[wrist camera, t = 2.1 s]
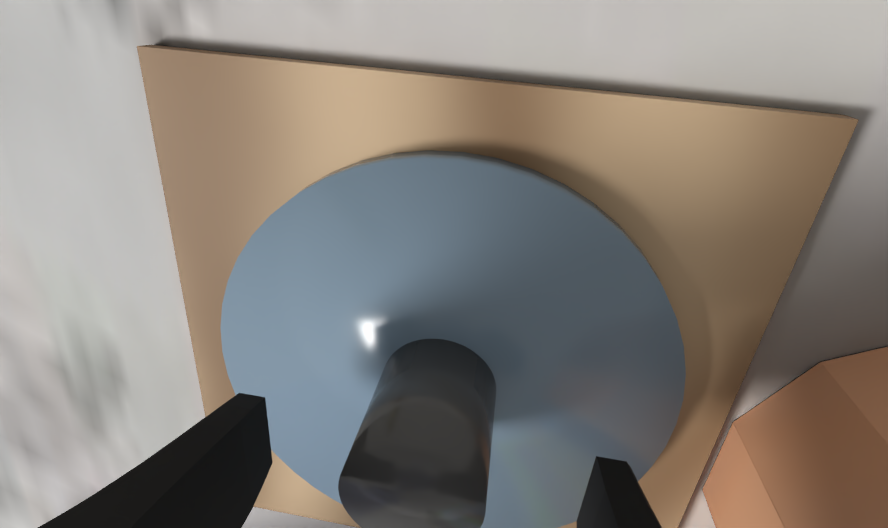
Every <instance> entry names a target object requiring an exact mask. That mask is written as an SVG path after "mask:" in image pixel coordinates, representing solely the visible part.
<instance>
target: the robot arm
mask: <svg viewBox="0 0 888 528" xmlns="http://www.w3.org/2000/svg"><path fill="white" fill-rule="evenodd" d="M272 463H273V462H272V453H271V444H270V435H269V427H268V418H267V409H266V400H265V397H261V396H255V395H249V394H244V393H238V394H237V395H235V396H234V397H233V398H231V399H230V400H228V401H227V402H226V403H224V404H223V405H221V406H220V407H219V408H217V409H216V410H215V411H213V412H212V413H211V414H209V415H208V416H206V417H205V418H204V419H202V420H201V421H200V422H198V423H197V424H196V425H194V426H193V427H191V428H190V429H189V430H187V431H186V432H185V433H183V434H182V435H181V436H179V437H178V438H176V439H175V440H174V441H172V442H171V443H169V444H168V445H166V446H165V447H164V448H162V449H161V450H159V451H158V452H157V453H155V454H154V455H152V456H151V457H150V458H148V459H147V460H145V461H144V462H142V463H141V464H140V465H138V466H137V467H135V468H134V469H132V470H131V471H129V472H127V473H126V474H124V475H123V476H121V477H120V478H118V479H117V480H115V481H114V482H112V483H111V484H109V485H108V486H106V487H105V488H103V489H102V490H100V491H99V492H97V493H96V494H94V495H92V496H91V497H89V498H88V499H86V500H84V501H83V502H81V503H79V504H78V505H76V506H74V507H73V508H71V509H69V510H68V511H66V512H64V513H63V514H61V515H59V516H57V517H56V518H54V519H52V520H50V521H49V522H47V523H45V524H43V525H42V526H40V527H38V528H241V527H242V525H243V524H244V522H245V520H246V519H247V517H248V515H249V513H250V512H251V510H252V508H253V506H254V504H255V502H256V499H257V497H258V495H259V493H260V491H261V489H262V486H263V484H264V482H265V479H266V477H267V475H268V472H269V470H270V468H271V465H272ZM577 528H662V527H661V525H660V523H659V521H658V519H657V517H656V516H655V514H654V512H653V510H652V508H651V506H650V504H649V502H648V500H647V498H646V497H645V495H644V493H643V491H642V489H641V487H640V485H639V483H638V481H637V479H636V477H635V475H634V473H633V471H632V469H631V467H630V465H629V464H628V463H627V461H621V460H615V459H610V458H604V457H599V456H596V458H595V462H594V465H593V468H592V472H591V475H590V478H589V482H588V485H587V488H586V491H585V495H584V498H583V501H582V505H581V508H580V511H579V515H578V518H577Z"/></svg>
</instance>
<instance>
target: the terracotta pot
mask: <svg viewBox="0 0 888 528" xmlns="http://www.w3.org/2000/svg"><path fill="white" fill-rule="evenodd" d="M702 490H703V492H704V495H705V498H706V501H707V504H708V507H709V509H710V512H711V515H712V518H713V521H714V524H715V526H716V528H888V347H884V348H880V349H875V350H871V351H867V352H862V353H858V354H854V355H849V356H845V357H841V358H836V359H832V360H828V361H823V362H820V363H819V364H817V365H816V366H814V367H813V368H811V369H810V370H808V371H807V372H805V373H804V374H803V375H801V376H800V377H798V378H797V379H795V380H794V381H792V382H791V383H789V384H788V385H786V386H785V387H784V388H782V389H781V390H779V391H778V392H776V393H775V394H773V395H772V396H770V397H769V398H767V399H766V400H765V401H763V402H762V403H760V404H759V405H757V406H756V407H754V408H753V409H751V410H750V411H749V412H747V413H746V414H744V415H743V416H741V417H740V418H738V419H737V420H735V421H734V422H733V423H732V425H731V428H730V430H729V432H728V434H727V436H726V439H725V441H724V443H723V445H722V447H721V450H720V452H719V454H718V456H717V458H716V461H715V463H714V465H713V467H712V469H711V472H710V474H709V476H708V478H707V480H706V483H705V485H704V487H703V489H702Z"/></svg>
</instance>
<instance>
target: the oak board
mask: <svg viewBox="0 0 888 528" xmlns="http://www.w3.org/2000/svg"><path fill="white" fill-rule="evenodd" d="M137 50H138V55H139V61H140V66H141V71H142V77H143V82H144V87H145V93H146V98H147V104H148V109H149V114H150V120H151V125H152V131H153V136H154V141H155V147H156V152H157V158H158V163H159V168H160V174H161V179H162V185H163V190H164V195H165V201H166V206H167V212H168V217H169V222H170V228H171V233H172V238H173V244H174V249H175V255H176V260H177V265H178V271H179V276H180V282H181V287H182V292H183V298H184V303H185V309H186V314H187V319H188V325H189V330H190V336H191V341H192V346H193V352H194V357H195V362H196V368H197V373H198V379H199V384H200V389H201V395H202V400H203V406H204V411H205V416H208V415H209V414H211V413H212V412H213V411H215V410H216V409H217V408H219V407H220V406H221V405H223V404H224V403H226V402H227V401H228V400H230V399H231V398H233V397H234V396H235V392H234V390H233V387H232V384H231V382H230V379H229V377H228V374H227V369H226V365H225V361H224V356H223V352H222V340H221V314H222V303H223V299H224V295H225V291H226V286H227V282H228V279H229V277H230V274H231V272H232V270H233V267H234V265H235V263H236V260H237V258H238V256H239V255H240V253H241V252H242V250H243V248H244V247H245V245H246V244H247V242H248V241H249V239H250V238H251V236H252V235H253V234H254V233H255V231H256V230H257V229H258V228H259V227H260V226H261V225H262V224H263V223H264V222H265V220H266V219H267V218H268V217H269V216H270V215H271V214H272V213H274V212H275V211H276V210H277V209H279V208H280V207H281V206H282V205H284V204H285V203H286V202H288V201H289V200H290V199H291V198H293V197H294V196H295V195H296V194H298V193H299V192H300V191H301V190H303V189H304V188H305V187H307V186H308V185H310V184H312V183H313V182H315V181H317V180H319V179H320V178H322V177H324V176H326V175H328V174H329V173H331V172H333V171H335V170H338V169H341V168H343V167H346V166H348V165H351V164H354V163H356V162H359V161H361V160H365V159H370V158H374V157H379V156H383V155H387V154H392V153H400V152H412V151H423V150H437V151H458V152H467V153H473V154H478V155H484V156H490V157H495V158H500V159H503V160H506V161H509V162H512V163H515V164H518V165H522V166H525V167H528V168H531V169H534V170H536V171H538V172H540V173H542V174H544V175H546V176H549V177H551V178H553V179H555V180H557V181H559V182H561V183H564V184H565V185H567V186H568V187H570V188H572V189H573V190H575V191H576V192H578V193H579V194H581V195H582V196H584V197H586V198H587V199H589V200H590V201H592V202H593V203H595V204H596V205H597V206H598V207H599V208H600V209H602V210H603V211H604V212H605V213H606V214H607V215H609V216H610V217H611V218H612V219H613V220H614V221H616V222H617V223H618V224H619V225H620V226H621V227H622V228H623V229H624V231H625V232H626V233H627V234H628V235H629V236H630V237H631V239H632V240H633V241H634V242H635V243H636V244H637V245H638V247H639V248H640V249H641V250H642V252H643V254H644V255H645V257H646V258H647V260H648V261H649V263H650V265H651V266H652V268H653V269H654V271H655V272H656V274H657V276H658V278H659V280H660V282H661V284H662V286H663V288H664V290H665V293H666V295H667V297H668V299H669V302H670V304H671V306H672V309H673V311H674V313H675V316H676V318H677V321H678V325H679V329H680V333H681V337H682V341H683V345H684V355H685V368H686V378H685V388H684V397H683V403H682V406H681V410H680V413H679V417H678V420H677V424H676V426H675V428H674V430H673V432H672V434H671V437H670V439H669V441H668V443H667V445H666V447H665V448H664V450H663V451H662V453H661V454H660V456H659V457H658V458H657V460H656V461H655V463H654V464H653V466H652V467H651V468H650V469H649V470H648V471H647V472H646V473H645V474H644V476H643V477H642V478H641V479H640V480H639V481H638V483H639V485H640V487H641V489H642V491H643V493H644V495H645V497H646V498H647V500H648V502H649V504H650V506H651V508H652V510H653V512H654V514H655V516H656V517H657V519H658V521H659V523H660V525H661V527H662V528H678V526H679V523H680V521H681V519H682V517H683V514H684V512H685V510H686V508H687V505H688V503H689V501H690V499H691V496H692V494H693V492H694V490H695V487H696V485H697V483H698V481H699V478H700V476H701V474H702V472H703V469H704V467H705V465H706V463H707V460H708V458H709V456H710V454H711V451H712V449H713V447H714V445H715V442H716V440H717V438H718V436H719V433H720V431H721V429H722V427H723V424H724V422H725V420H726V418H727V415H728V413H729V411H730V409H731V406H732V404H733V402H734V400H735V397H736V395H737V393H738V391H739V388H740V386H741V384H742V382H743V379H744V377H745V375H746V373H747V370H748V368H749V366H750V364H751V361H752V359H753V357H754V355H755V352H756V350H757V348H758V345H759V343H760V341H761V339H762V336H763V334H764V332H765V330H766V327H767V325H768V323H769V321H770V318H771V316H772V314H773V312H774V309H775V307H776V305H777V303H778V300H779V298H780V296H781V294H782V291H783V289H784V287H785V285H786V282H787V280H788V278H789V276H790V273H791V271H792V269H793V267H794V264H795V262H796V260H797V258H798V255H799V253H800V251H801V249H802V246H803V244H804V242H805V240H806V237H807V235H808V233H809V231H810V228H811V226H812V224H813V222H814V219H815V217H816V215H817V213H818V210H819V208H820V206H821V204H822V201H823V199H824V197H825V195H826V192H827V190H828V188H829V186H830V183H831V181H832V179H833V177H834V174H835V172H836V170H837V168H838V165H839V163H840V161H841V159H842V156H843V154H844V152H845V150H846V147H847V145H848V143H849V141H850V138H851V136H852V134H853V132H854V129H855V127H856V125H857V123H858V119H855V118H852V117H849V116H846V115H839V114H829V113H819V112H809V111H799V110H789V109H779V108H770V107H760V106H750V105H740V104H730V103H720V102H710V101H701V100H691V99H681V98H671V97H661V96H651V95H641V94H632V93H622V92H612V91H602V90H592V89H582V88H572V87H562V86H553V85H543V84H533V83H523V82H513V81H503V80H493V79H484V78H474V77H464V76H454V75H444V74H434V73H424V72H415V71H405V70H395V69H385V68H375V67H365V66H355V65H346V64H336V63H326V62H316V61H306V60H296V59H286V58H277V57H267V56H257V55H247V54H237V53H227V52H217V51H207V50H198V49H188V48H178V47H168V46H158V45H145V46H137ZM271 453H272V462H273V463H272V465H271V468H270V470H269V472H268V475H267V477H266V479H265V482H264V484H263V486H262V489H261V491H260V493H259V495H258V497H257V499H256V502H255V504H254V506H253V507H258V508H263V509H268V510H273V511H278V512H283V513H288V514H293V515H298V516H303V517H308V518H313V519H318V520H323V521H328V522H333V523H338V524H343V525H348V526H353V527H358V528H361V527H360V526H359V525H358V524H357V523H356V522H355V521H354V520H353V519H352V518H351V517H350V516H349V514H348V513H347V511H346V510H345V508H344V507H343V505H342V504H341V503H339V502H337V501H335V500H333V499H332V498H330V497H328V496H327V495H325V494H324V493H322V492H321V491H319V490H318V489H316V488H314V487H313V486H312V485H310V484H309V483H308V482H306V481H305V480H304V479H303V478H301V477H300V476H299V475H297V474H296V473H295V472H294V471H293V470H292V469H290V468H289V467H288V466H287V465H286V464H285V463H284V462H283V461H282V460H281V459H280V458H279V457H278V456H277V455H276V454H275V453H274V452H273V451H272V450H271ZM558 528H577V521H575V522H573V523H570V524H567V525H564V526H561V527H558Z"/></svg>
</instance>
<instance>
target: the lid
mask: <svg viewBox="0 0 888 528" xmlns="http://www.w3.org/2000/svg"><path fill="white" fill-rule="evenodd" d="M221 340H222V352H223V356H224V361H225V365H226V369H227V374H228V377H229V379H230V382H231V384H232V387H233V390H234V392H235V395H237V394H238V393H244V394H249V395H255V396H261V397H265V400H266V409H267V418H268V427H269V435H270V444H271V450H272V451H273V452H274V453H275V454H276V455H277V456H278V457H279V458H280V459H281V460H282V461H283V462H284V463H285V464H286V465H287V466H288V467H289V468H290V469H292V470H293V471H294V472H295V473H296V474H297V475H299V476H300V477H301V478H303V479H304V480H305V481H306V482H308V483H309V484H310V485H312V486H313V487H314V488H316V489H318V490H319V491H321V492H322V493H324V494H325V495H327V496H328V497H330V498H332V499H333V500H335V501H337V502H339V503H341V504H342V505H343V507H344V508H345V510H346V511H347V513H348V514H349V516H350V517H351V518H352V519H353V520H354V521H355V522H356V523H357V524H358V525H359V526H360V527H361V528H558V527H561V526H564V525H567V524H570V523H573V522H575V521H577V518H578V515H579V511H580V508H581V505H582V501H583V498H584V495H585V491H586V488H587V485H588V482H589V478H590V475H591V472H592V468H593V465H594V462H595V458H596V456H599V457H604V458H610V459H615V460H621V461H627V463H628V464H629V465H630V467H631V469H632V471H633V473H634V475H635V477H636V479H637V481H639V480H640V479H641V478H642V477H643V476H644V474H645V473H646V472H647V471H648V470H649V469H650V468H651V467H652V466H653V464H654V463H655V461H656V460H657V458H658V457H659V456H660V454H661V453H662V451H663V450H664V448H665V447H666V445H667V443H668V441H669V439H670V437H671V434H672V432H673V430H674V428H675V426H676V424H677V420H678V417H679V413H680V410H681V406H682V403H683V397H684V388H685V378H686V368H685V355H684V345H683V341H682V337H681V333H680V329H679V325H678V321H677V318H676V316H675V313H674V311H673V309H672V306H671V304H670V302H669V299H668V297H667V295H666V293H665V290H664V288H663V286H662V284H661V282H660V280H659V278H658V276H657V274H656V272H655V271H654V269H653V268H652V266H651V265H650V263H649V261H648V260H647V258H646V257H645V255H644V254H643V252H642V250H641V249H640V248H639V247H638V245H637V244H636V243H635V242H634V241H633V240H632V239H631V237H630V236H629V235H628V234H627V233H626V232H625V231H624V229H623V228H622V227H621V226H620V225H619V224H618V223H617V222H616V221H614V220H613V219H612V218H611V217H610V216H609V215H607V214H606V213H605V212H604V211H603V210H602V209H600V208H599V207H598V206H597V205H596V204H595V203H593V202H592V201H590V200H589V199H587V198H586V197H584V196H582V195H581V194H579V193H578V192H576V191H575V190H573V189H572V188H570V187H568V186H567V185H565V184H564V183H561V182H559V181H557V180H555V179H553V178H551V177H549V176H546V175H544V174H542V173H540V172H538V171H536V170H534V169H531V168H528V167H525V166H522V165H518V164H515V163H512V162H509V161H506V160H503V159H500V158H495V157H490V156H484V155H478V154H473V153H467V152H458V151H437V150H423V151H412V152H400V153H392V154H387V155H383V156H379V157H374V158H370V159H365V160H361V161H359V162H356V163H354V164H351V165H348V166H346V167H343V168H341V169H338V170H335V171H333V172H331V173H329V174H328V175H326V176H324V177H322V178H320V179H319V180H317V181H315V182H313V183H312V184H310V185H308V186H307V187H305V188H304V189H303V190H301V191H300V192H299V193H298V194H296V195H295V196H294V197H293V198H291V199H290V200H289V201H288V202H286V203H285V204H284V205H282V206H281V207H280V208H279V209H277V210H276V211H275V212H274V213H272V214H271V215H270V216H269V217H268V218H267V219H266V220H265V222H264V223H263V224H262V225H261V226H260V227H259V228H258V229H257V230H256V231H255V233H254V234H253V235H252V236H251V238H250V239H249V241H248V242H247V244H246V245H245V247H244V248H243V250H242V252H241V253H240V255H239V256H238V258H237V260H236V263H235V265H234V267H233V270H232V272H231V274H230V277H229V279H228V282H227V286H226V291H225V295H224V299H223V303H222V314H221Z"/></svg>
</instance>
